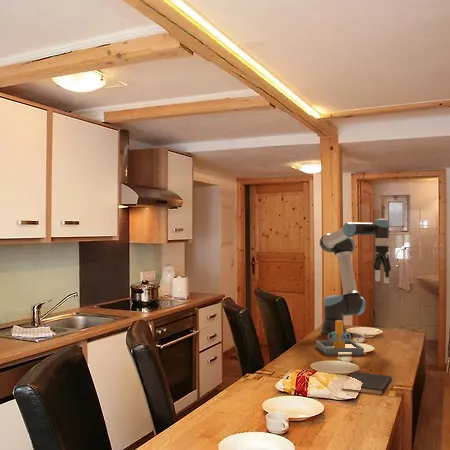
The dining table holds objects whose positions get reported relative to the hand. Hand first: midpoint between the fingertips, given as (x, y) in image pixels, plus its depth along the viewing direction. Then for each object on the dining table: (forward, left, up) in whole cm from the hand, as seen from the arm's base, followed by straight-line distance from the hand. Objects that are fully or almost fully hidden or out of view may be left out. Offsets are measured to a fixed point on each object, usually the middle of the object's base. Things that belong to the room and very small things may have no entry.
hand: (382, 282), depth 305 cm
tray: (+22, -32, -35) cm, 52 cm away
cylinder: (+22, -32, -34) cm, 52 cm away
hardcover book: (+85, -39, -36) cm, 100 cm away
